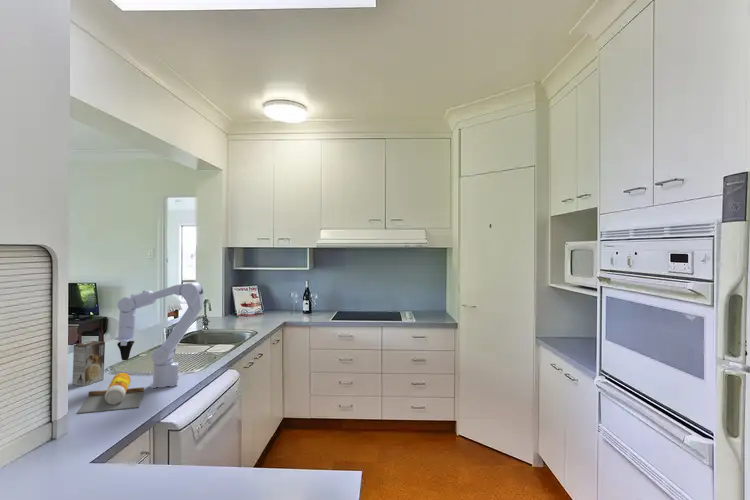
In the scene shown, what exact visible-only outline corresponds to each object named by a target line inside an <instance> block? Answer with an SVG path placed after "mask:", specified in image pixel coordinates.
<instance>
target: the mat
mask: <svg viewBox="0 0 750 500" xmlns="http://www.w3.org/2000/svg"><path fill="white" fill-rule="evenodd" d="M144 393H145V391H144V392H135V393H126V394H125V397H124V399H123V400H122V401H121V402H119V403H117V404H109V403H108V402H107V401H106V400H105V395H99V396H88V395H87V397H86V399H85V401H84V402H83V403H82V404H81V406H80V407H79V409H78V411H77V412H76V415H79V414H80V415H81V414H90V413H99V412H111V411H119V410H121V411H122V410H131V409H132V410H133V409H139V408H140V404H141V402H142V399H143V396H144Z"/></svg>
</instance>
